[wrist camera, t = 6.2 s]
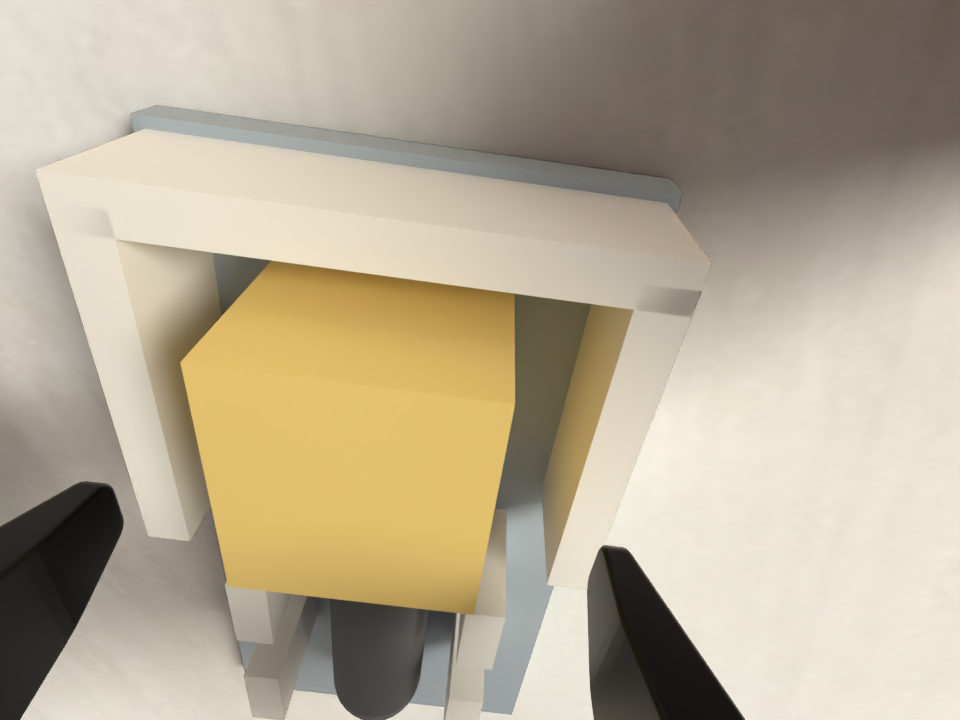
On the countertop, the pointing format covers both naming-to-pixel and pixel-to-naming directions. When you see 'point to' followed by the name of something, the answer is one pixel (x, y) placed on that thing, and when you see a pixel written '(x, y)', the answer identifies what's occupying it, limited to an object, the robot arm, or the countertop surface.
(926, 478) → the countertop surface
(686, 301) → the board
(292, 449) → the cable
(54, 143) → the countertop surface
